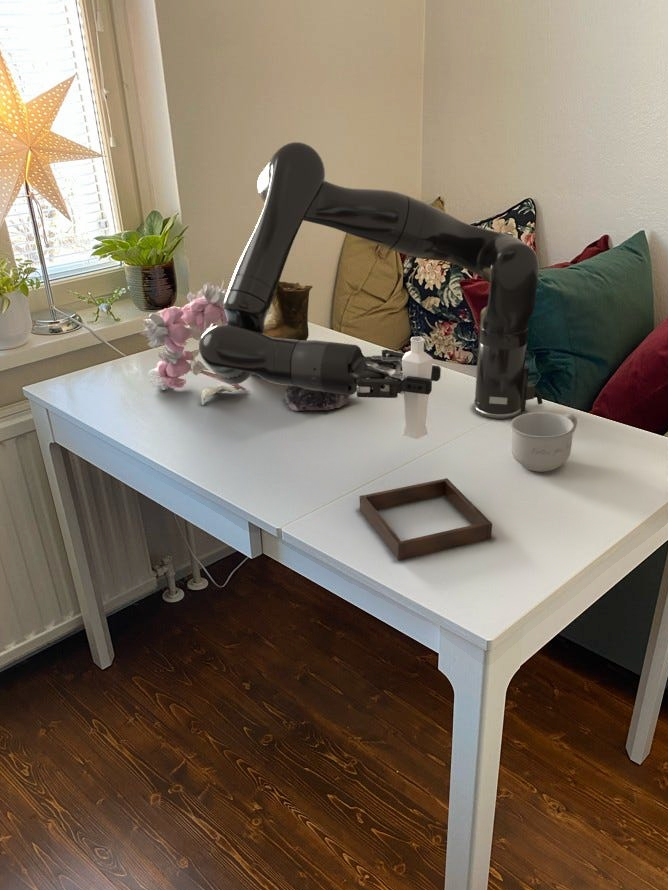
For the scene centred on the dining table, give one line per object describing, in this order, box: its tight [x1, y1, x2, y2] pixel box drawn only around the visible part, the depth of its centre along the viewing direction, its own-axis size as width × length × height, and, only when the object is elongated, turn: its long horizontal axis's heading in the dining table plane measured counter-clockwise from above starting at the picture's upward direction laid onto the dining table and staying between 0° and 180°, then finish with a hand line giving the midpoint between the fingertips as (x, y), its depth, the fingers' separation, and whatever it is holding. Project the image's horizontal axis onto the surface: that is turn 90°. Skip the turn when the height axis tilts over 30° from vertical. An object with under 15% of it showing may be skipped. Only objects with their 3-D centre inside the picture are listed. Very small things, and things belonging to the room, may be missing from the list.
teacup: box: [510, 411, 578, 473], centre depth 154 cm, size 14×11×8 cm
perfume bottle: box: [402, 336, 434, 440], centre depth 131 cm, size 5×4×15 cm
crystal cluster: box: [284, 385, 350, 412], centre depth 176 cm, size 13×14×10 cm
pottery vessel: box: [220, 280, 314, 376], centre depth 188 cm, size 25×11×20 cm, turn 138°
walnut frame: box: [359, 477, 493, 561], centre depth 137 cm, size 16×16×3 cm
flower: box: [136, 278, 247, 406], centre depth 177 cm, size 20×22×25 cm
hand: (435, 380), depth 129 cm, fingers closed on perfume bottle, 4 cm apart
